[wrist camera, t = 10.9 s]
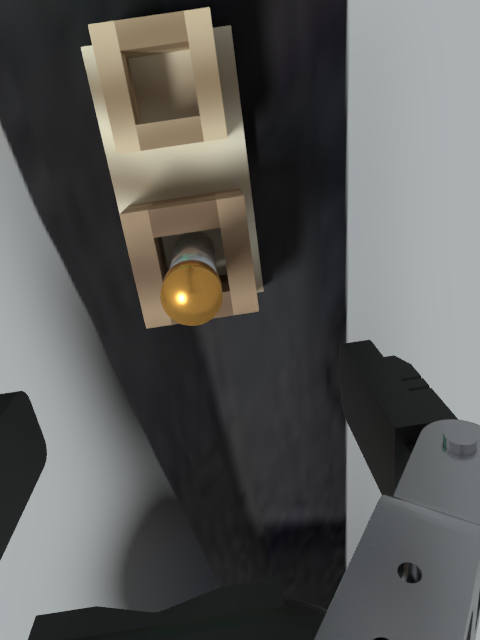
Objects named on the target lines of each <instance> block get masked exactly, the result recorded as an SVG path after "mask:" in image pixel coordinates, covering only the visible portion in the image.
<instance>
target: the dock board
mask: <svg viewBox="0 0 480 640" xmlns="http://www.w3.org/2000/svg"><path fill="white" fill-rule="evenodd" d="M88 28H89V33H90V37H91V42H92V45H91V46H84V47H81V51H82V55H83V59H84V64H85V68H86V72H87V76H88V81H89V85H90V89H91V93H92V98H93V102H94V106H95V111H96V115H97V119H98V123H99V128H100V132H101V136H102V140H103V145H104V149H105V153H106V157H107V162H108V166H109V170H110V174H111V179H112V183H113V187H114V191H115V196H116V200H117V204H118V208H119V213H120V219H121V223H122V227H123V231H124V236H125V240H126V244H127V248H128V253H129V257H130V261H131V265H132V270H133V274H134V278H135V282H136V287H137V291H138V295H139V299H140V304H141V308H142V312H143V316H144V321H145V325H146V329H147V328H153V327H160V326H166V325H173V324H180V323H178V322H176V321H174V320H173V319H171V318H170V317H169V316H168V315H167V314H166V312H165V311H164V309H163V307H162V304H161V299H160V294H161V288H162V284H163V280H164V277H165V275H166V274H167V272H168V271H169V269H170V265H171V261H172V256H173V252H174V248H175V244H176V242H177V240H178V239H179V237H180V236H181V235H183V234H184V233H190V232H196V231H198V232H202V233H204V234H206V235H207V236H208V237H209V238H210V239H211V241H212V242H213V245H214V249H215V260H216V271H217V274H218V276H219V278H220V281H221V286H222V296H223V298H222V304H221V307H220V309H219V311H218V313H217V314H216V315H215V316H214V317H213V318H219V317H225V316H232V315H238V314H245V313H252V312H258V311H259V308H258V300H257V292H263V282H262V274H261V266H260V258H259V250H258V242H257V234H256V225H255V217H254V209H253V201H252V193H251V185H250V177H249V168H248V160H247V152H246V144H245V136H244V128H243V120H242V111H241V103H240V95H239V87H238V79H237V71H236V62H235V54H234V46H233V38H232V30H231V25H229V26H223V27H216V28H213V27H212V20H211V12H210V7H206V8H199V9H193V10H186V11H179V12H172V13H165V14H158V15H151V16H144V17H137V18H130V19H123V20H116V21H109V22H102V23H95V24H89V25H88Z"/></svg>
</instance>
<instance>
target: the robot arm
mask: <svg viewBox="0 0 480 640" xmlns="http://www.w3.org/2000/svg"><path fill="white" fill-rule="evenodd" d="M339 362H340V383H341V400H342V406H343V411H344V415H345V418H346V420H347V423H348V425H349V427H350V429H351V431H352V433H353V435H354V437H355V439H356V441H357V444H358V446H359V448H360V450H361V452H362V454H363V456H364V458H365V460H366V462H367V465H368V467H369V469H370V471H371V473H372V475H373V477H374V479H375V481H376V483H377V485H378V487H379V489H380V492H381V494H382V496H381V498H380V499H379V501H378V503H377V505H376V507H375V509H374V511H373V513H372V516H371V518H370V520H369V522H368V524H367V526H366V529H365V531H364V533H363V535H362V537H361V540H360V542H359V544H358V546H357V548H356V550H355V553H354V554H353V557H352V559H351V561H350V563H349V565H348V567H347V570H346V572H345V574H344V576H343V578H342V580H341V583H340V585H339V587H338V589H337V591H336V593H335V596H334V598H333V600H332V602H331V604H330V606H329V608H328V610H326V609H324V608H322V607H319V606H316V605H314V604H311V603H307V602H303V601H299V600H294V599H286V598H283V593H282V587H281V581H280V578H276V579H269V580H263V581H257V582H250V583H244V584H237V585H231V586H225V587H220V588H217V589H215V590H212V591H210V592H207V593H205V594H202V595H200V596H198V597H195V598H193V599H190V600H188V601H185V602H183V603H181V604H178V605H176V606H173V607H171V608H169V609H166V610H163V611H160V612H155V613H153V612H151V613H150V612H142V611H132V610H124V609H115V608H105V607H97V606H96V607H90V608H84V609H77V610H71V611H64V612H58V613H51V614H45V615H38V616H36V618H35V621H34V623H33V626H32V629H31V632H30V635H29V638H28V640H475V638H476V633H477V627H478V621H479V616H480V425H478V424H475V423H472V422H468V421H463V420H458V419H457V418H456V417H455V415H454V414H453V413H452V412H451V411H450V409H449V408H448V407H447V406H446V405H445V404H444V403H443V401H442V400H441V399H440V398H439V397H438V395H437V394H436V393H435V392H434V391H433V390H432V389H431V388H430V387H429V385H428V384H427V383H426V381H425V380H424V379H423V378H421V376H420V374H419V373H418V372H417V371H416V370H415V369H414V368H413V366H412V365H411V364H409V363H407V362H405V361H404V360H402V359H400V358H398V357H396V356H388V357H383V356H382V354H381V353H380V352H379V351H378V349H377V348H376V347H375V345H374V344H373V343H372V342H371V341H370V340H366V341H359V342H352V343H345V344H341V345H340V347H339ZM46 456H47V450H46V443H45V439H44V437H43V434H42V431H41V429H40V426H39V424H38V421H37V418H36V415H35V413H34V410H33V407H32V404H31V402H30V400H29V397H28V395H27V394H26V393H25V392H23V391H19V392H12V393H5V394H0V560H1V558H2V556H3V553H4V551H5V549H6V547H7V545H8V543H9V541H10V538H11V536H12V534H13V532H14V530H15V528H16V526H17V523H18V521H19V519H20V517H21V515H22V512H23V511H24V509H25V506H26V504H27V502H28V500H29V498H30V495H31V494H32V492H33V489H34V487H35V485H36V483H37V481H38V479H39V476H40V474H41V472H42V470H43V468H44V466H45V462H46Z"/></svg>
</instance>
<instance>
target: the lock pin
mask: <svg viewBox="0 0 480 640" xmlns="http://www.w3.org/2000/svg"><path fill="white" fill-rule="evenodd" d="M222 298H223V296H222V286H221V281H220V278H219V276H218V274H217V271H216V260H215V249H214V245H213V242H212V241H211V239H210V238H209V237H208V236H207V235H206V234H204V233H202V232H198V231H196V232H190V233H184V234H183V235H181V236H180V237H179V239H178V240H177V242H176V244H175V248H174V252H173V256H172V261H171V265H170V269H169V271H168V272H167V274H166V275H165V277H164V280H163V284H162V288H161V294H160V299H161V304H162V307H163V309H164V311H165V312H166V314H167V315H168V316H169V317H170V318H171V319H173V320H174V321H176V322H178V323H180V324H183V325H189V326H195V325H201V324H204V323H206V322H208V321H209V320H211V319H212V318H213V317H214V316H215V315H216V314H217V313H218V311H219V309H220V307H221V304H222Z"/></svg>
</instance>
